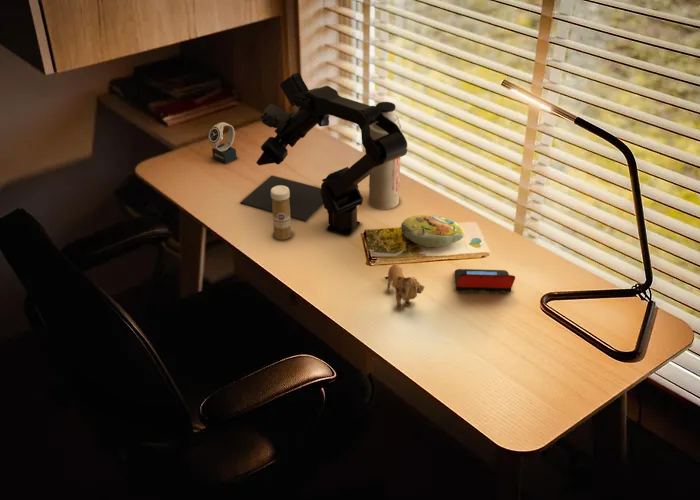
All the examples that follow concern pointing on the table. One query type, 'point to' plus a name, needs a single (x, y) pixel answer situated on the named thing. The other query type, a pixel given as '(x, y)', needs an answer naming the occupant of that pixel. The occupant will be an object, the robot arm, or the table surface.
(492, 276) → the handheld console
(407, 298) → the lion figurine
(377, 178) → the thermos bottle
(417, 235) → the cell model
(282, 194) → the sprinkles bottle
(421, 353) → the table surface
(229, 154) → the watch
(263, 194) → the desk mat
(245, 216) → the table surface
